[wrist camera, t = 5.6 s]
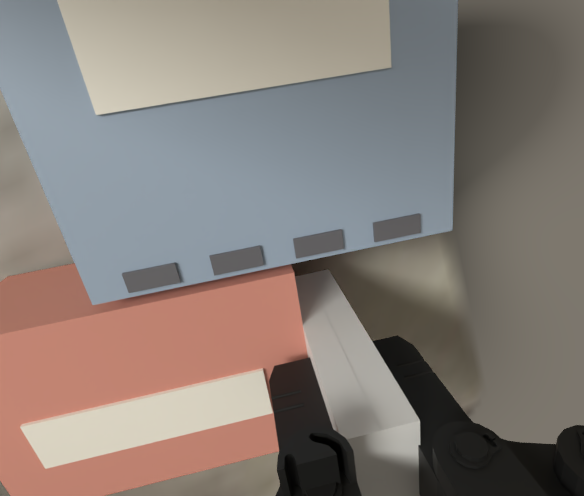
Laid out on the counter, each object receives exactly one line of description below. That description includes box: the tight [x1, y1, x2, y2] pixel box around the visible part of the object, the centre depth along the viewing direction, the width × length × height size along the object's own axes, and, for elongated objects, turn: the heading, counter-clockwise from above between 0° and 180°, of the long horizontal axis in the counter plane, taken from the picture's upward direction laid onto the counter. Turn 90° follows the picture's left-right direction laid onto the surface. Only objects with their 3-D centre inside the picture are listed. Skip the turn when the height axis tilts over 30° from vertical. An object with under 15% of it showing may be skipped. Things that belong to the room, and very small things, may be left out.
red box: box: [0, 263, 308, 496], centre depth 12 cm, size 9×6×4 cm, turn 99°
